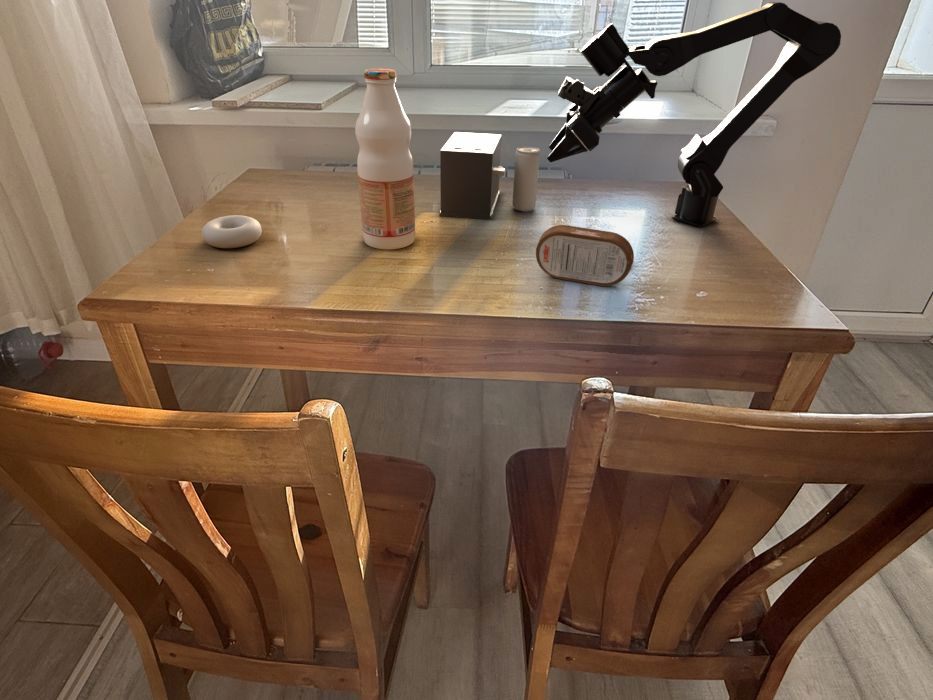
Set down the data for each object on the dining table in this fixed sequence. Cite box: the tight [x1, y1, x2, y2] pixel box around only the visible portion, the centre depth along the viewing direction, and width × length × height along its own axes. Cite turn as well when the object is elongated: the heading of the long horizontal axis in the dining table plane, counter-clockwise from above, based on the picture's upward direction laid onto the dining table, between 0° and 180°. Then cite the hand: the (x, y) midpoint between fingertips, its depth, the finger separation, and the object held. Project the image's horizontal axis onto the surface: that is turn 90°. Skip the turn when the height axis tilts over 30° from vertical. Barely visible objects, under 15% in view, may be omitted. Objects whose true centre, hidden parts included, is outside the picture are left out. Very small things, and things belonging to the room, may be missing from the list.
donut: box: [201, 214, 263, 249], centre depth 103 cm, size 10×4×10 cm
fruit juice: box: [354, 67, 416, 250], centre depth 97 cm, size 9×9×28 cm
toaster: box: [438, 131, 506, 221], centre depth 119 cm, size 12×16×13 cm
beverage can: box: [511, 146, 541, 212], centre depth 118 cm, size 5×5×12 cm
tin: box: [535, 224, 635, 287], centre depth 90 cm, size 15×3×8 cm, turn 71°
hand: (549, 154), depth 114 cm, fingers open, 9 cm apart
